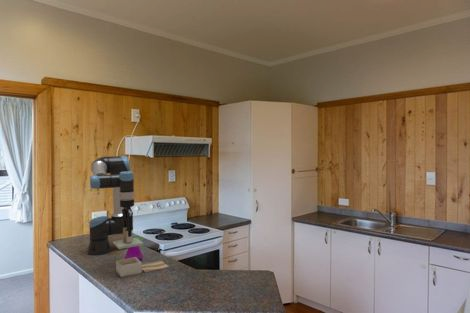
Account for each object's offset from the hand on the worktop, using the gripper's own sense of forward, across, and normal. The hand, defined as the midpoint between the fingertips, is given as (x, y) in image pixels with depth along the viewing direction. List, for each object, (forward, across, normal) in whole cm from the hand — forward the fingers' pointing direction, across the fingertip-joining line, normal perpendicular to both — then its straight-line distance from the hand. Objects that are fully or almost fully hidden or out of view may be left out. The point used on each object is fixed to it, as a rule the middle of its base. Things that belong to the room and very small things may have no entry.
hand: (128, 240), depth 178 cm
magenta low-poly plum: (+18, -18, +8) cm, 27 cm away
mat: (+17, +1, +14) cm, 22 cm away
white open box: (+17, +1, 0) cm, 17 cm away
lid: (+2, 0, 0) cm, 2 cm away
